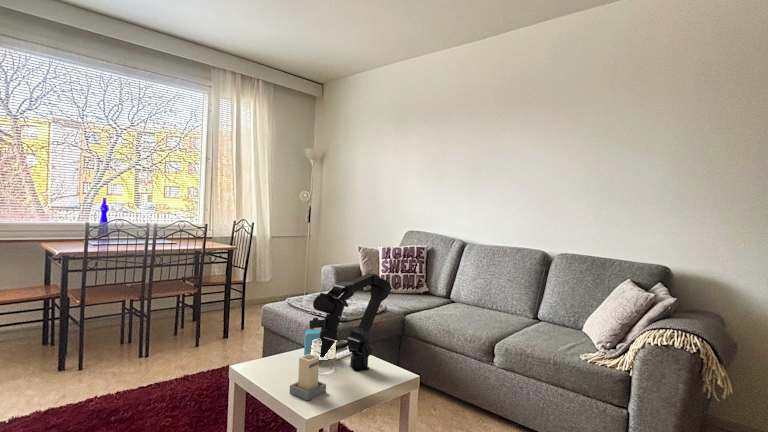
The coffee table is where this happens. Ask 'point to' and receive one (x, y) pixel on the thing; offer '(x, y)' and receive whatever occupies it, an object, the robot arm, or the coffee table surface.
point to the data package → (310, 340)
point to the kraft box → (308, 372)
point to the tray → (305, 394)
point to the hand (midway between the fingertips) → (321, 355)
